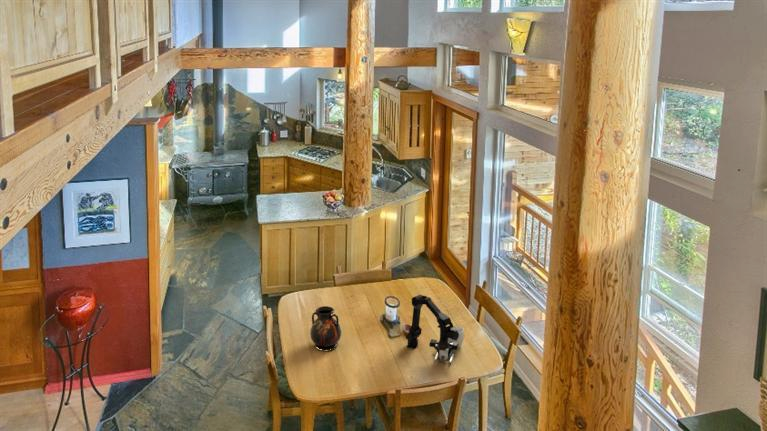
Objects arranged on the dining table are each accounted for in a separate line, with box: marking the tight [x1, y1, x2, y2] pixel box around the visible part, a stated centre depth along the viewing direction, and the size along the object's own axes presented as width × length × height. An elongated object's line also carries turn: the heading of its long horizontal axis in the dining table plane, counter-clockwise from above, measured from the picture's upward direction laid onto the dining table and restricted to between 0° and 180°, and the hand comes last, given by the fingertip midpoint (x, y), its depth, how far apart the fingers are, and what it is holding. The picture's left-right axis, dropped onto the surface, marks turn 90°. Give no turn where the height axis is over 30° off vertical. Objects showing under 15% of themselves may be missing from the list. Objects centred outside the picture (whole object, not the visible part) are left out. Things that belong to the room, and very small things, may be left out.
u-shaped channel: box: [434, 347, 456, 366], centre depth 435 cm, size 14×17×8 cm
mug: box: [448, 325, 465, 349], centre depth 450 cm, size 15×11×13 cm
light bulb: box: [438, 349, 449, 361], centre depth 429 cm, size 6×8×7 cm
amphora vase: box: [309, 305, 342, 351], centre depth 449 cm, size 22×22×28 cm
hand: (443, 355), depth 431 cm, fingers closed on light bulb, 6 cm apart
